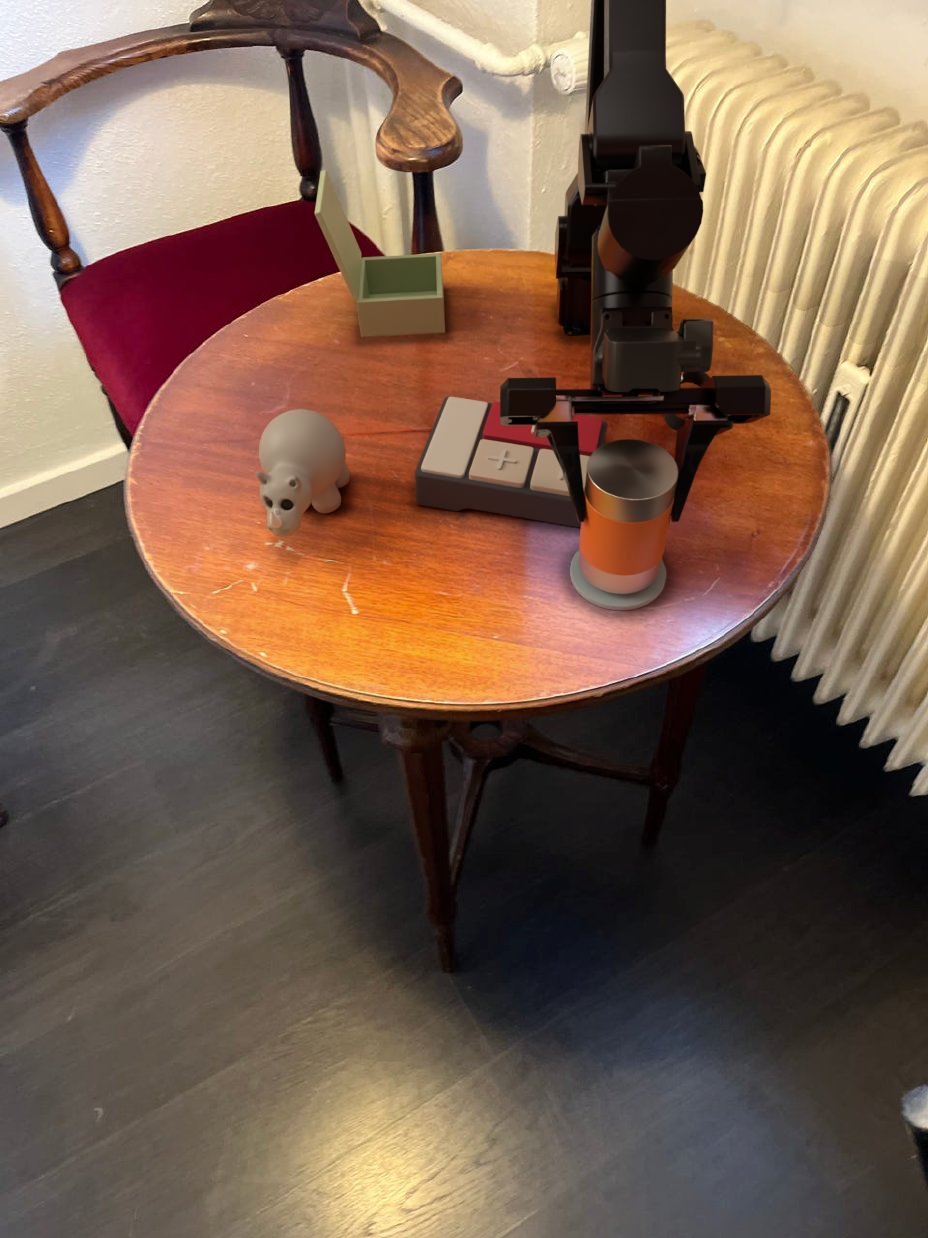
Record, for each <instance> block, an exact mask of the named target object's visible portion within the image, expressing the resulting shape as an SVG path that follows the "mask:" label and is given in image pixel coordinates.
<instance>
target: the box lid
mask: <svg viewBox="0 0 928 1238" xmlns="http://www.w3.org/2000/svg"><path fill="white" fill-rule="evenodd" d="M314 216H315V218H316V220H317V222H318V226H319V227H320V229H321V231H322V234H323V236H324V238H325V240H326V242H327V245H328V247H329V249H330V252H331V253H332V257H333V258H334V261H335V264H336V265H337V267H338V270H339V271H340V274H341V276H342V278H343V280H344V283H345V285H346V287H347V290H348V291H349V294H350V297H351V298H352V300H357V298H358V294H359V281H360V267H361V258H362V251H361V248H360V246H359V244H358V242H357V240H356V237H355V234H354V232H353V229H352V228H351V225H350V223H349V220H348V218H347V216H346V213H345V210H344V208H343V206H342V203H341V201H340V199H339V196H338V194H337V192H336V189H335V188H334V185H333V182H332V180H331V178H330V175H329V173H328V170H327V169H323V170H320V173H319V181H318V187H317V195H316V201H315V208H314Z"/></svg>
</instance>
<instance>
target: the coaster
mask: <svg viewBox="0 0 928 1238" xmlns="http://www.w3.org/2000/svg"><path fill="white" fill-rule="evenodd" d="M578 560H579V549H578V550H577V551H576V552H575V554H574V555H573V557H572V559H571V562H570V568H569V575H570V580H571V583H572V585H573V587H574V589H575V591H577V593H578V595H580V597H582V598H583V599H585V600H586V601H587V602H589V603H591V604H593V605H595V606H597V607H599V608H602V609H606V610H612V611H613V610H614V611H631V610H636V609H639V608H642V607H645V606H647V605H649V604H650V603H652V602H654V600H656V599H657V598H658V597H659V596H660V595H661V593H662V592H663V590H664V588H665V586H666V585H665V584H666V581H667V568H666V566H665V563H664V561H663V559H662V560H661V565H660V570H659V573H658V576H657V578H656V579H655V580H654V582H653V583H652V584H651V585H649V586H648V587H646V588H645V589H643V590H640V591H638V592H634V593H629V594H615V593H609V592H606V591H603V590H600V589H598V588H596V587H595V586H593V585H592V584H590V583H589V582H588V581H587V580H586V579H585V578H584V576H583V575H582V573H581V571H580V569H579V564H578Z"/></svg>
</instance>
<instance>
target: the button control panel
mask: <svg viewBox="0 0 928 1238" xmlns="http://www.w3.org/2000/svg"><path fill="white" fill-rule="evenodd" d="M572 421H578V436H579V452H580V460H581V470H582V479H583V488H584V487H585V482H586V471H587V463H588V460H589V458H590V456H591V455H592V453H593V452H594V451H595V450H596V449H598V448H599V447H601V446H602V445H604V444H606V443H605V442H606V437H607V431H608V422H607V421H605V420H603V419H602V417H601V418H600V417H597V416H596V417H595V416H591V415H574V418H573V420H572ZM534 428H535V425H528V426H507V425H501V420H500V401H494V402H487V401H483V400H476V399H470V398H463V397H456V396H446V397H444V399H443V401H442V403H441V406H440V408H439V411H438V413H437V416H436V418H435V421H434V423H433V425H432V428H431V429H430V430H431V431H430V433H429V436H428V438H427V441H426V443H425V446H424V448H423V451H422V453H421V455H420V458H419V460H418V463H417V466H416V469H415V471H414V484H415V486H414V487H415V501H416V502H415V503H416V504H417V505H419V506H423V507H430V508H436V509H442V510H448V511H454V512H458V511H461V510H466V509H470V510H476V511H483V512H487V513H493V514H500V515H505V516H510V517H511V516H512V517H516V518H522V519H529V520H534V521H540V522H546V523H551V524H558V525H563V526H567V527H575V528H580V529H581V522H578V520H577V516H576V513H575V510H574V507H573V504H572V500H571V497H570V494H569V491H568V488H567V484H566V481H565V478H564V475H563V472H562V469H561V467H560V465H559V462H558V460H557V458H556V456H555V454H554V452H553V449H552V447H551V445H550V443H549V441H548V439H547V438H546V437H535V436H534Z"/></svg>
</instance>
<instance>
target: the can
mask: <svg viewBox="0 0 928 1238" xmlns="http://www.w3.org/2000/svg"><path fill="white" fill-rule="evenodd" d="M674 459H675V457H673V456H672V454H671V453H670V452H668V451H667V450H666V449H665V448H663V447H661V446H659V445H657V444H656V443H653V442H650V441H647V440H641V439H634V438H625V439H624V438H623V439H617V440H613V441H612V440H611V441H610V442H607V443H604V445H602V446H601V447H599V448H598V449H596V450H595V451H594V452H593V453H592V455H591V456H590V458H589V460H588V463H587V471H586V482H585V487H584V497H585V519H584V522H581V528H580V529H579V530H580V531H579V532H580V533H579V548H578V550H579V560H578V564H579V569H580V571H581V573H582V575H583V576H584V578H585V579H586V580H587V581H588V582H589V583H590V584H592V585H593V586H595V587H596V588H598V589H600V590H603V591H606V592H609V593H615V594H629V593H634V592H638V591H640V590H643V589H645V588H646V587H648V586H649V585H651V584H652V583H653V582H654V580H655V579H656V578H657V576H658V573H659V570H660V565H661V560H662V561H663V555H664V553H665V549H666V542H667V537H668V532H669V529H670V528H669V527H670V523H671V522H670V521H671V512H672V507H673V502H674V494H675V489H676V483H677V478H678V467H677V464H676V462H675V460H674Z"/></svg>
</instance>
